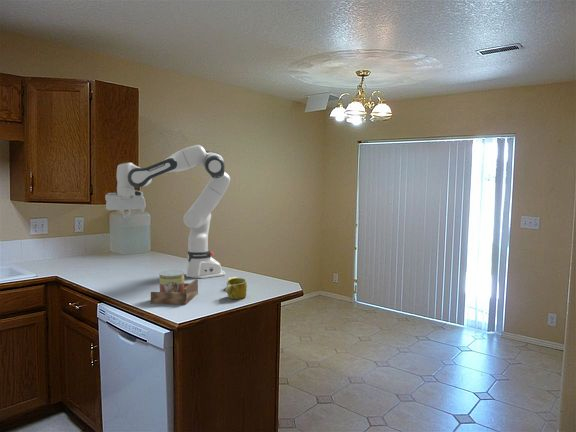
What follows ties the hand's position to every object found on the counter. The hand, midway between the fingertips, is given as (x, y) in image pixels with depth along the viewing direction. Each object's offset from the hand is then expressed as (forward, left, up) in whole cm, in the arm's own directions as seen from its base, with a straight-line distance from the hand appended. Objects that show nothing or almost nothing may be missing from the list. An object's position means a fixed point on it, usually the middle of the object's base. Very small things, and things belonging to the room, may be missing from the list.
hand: (126, 218), depth 235 cm
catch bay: (-16, +48, -34) cm, 61 cm away
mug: (-42, +59, -34) cm, 80 cm away
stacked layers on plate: (-47, +42, -35) cm, 72 cm away
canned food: (-15, +48, -34) cm, 61 cm away
